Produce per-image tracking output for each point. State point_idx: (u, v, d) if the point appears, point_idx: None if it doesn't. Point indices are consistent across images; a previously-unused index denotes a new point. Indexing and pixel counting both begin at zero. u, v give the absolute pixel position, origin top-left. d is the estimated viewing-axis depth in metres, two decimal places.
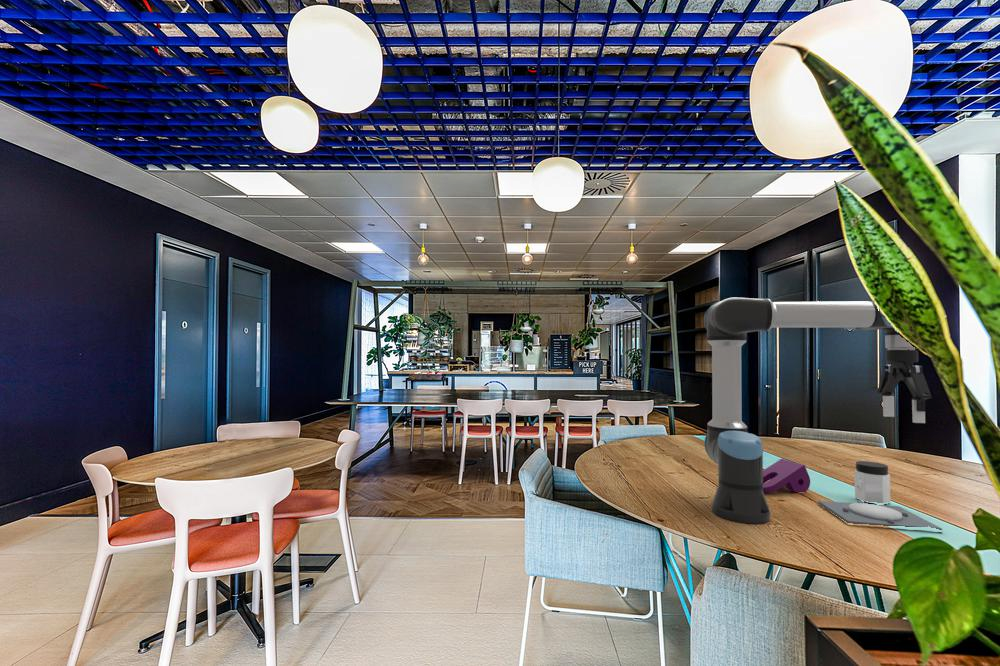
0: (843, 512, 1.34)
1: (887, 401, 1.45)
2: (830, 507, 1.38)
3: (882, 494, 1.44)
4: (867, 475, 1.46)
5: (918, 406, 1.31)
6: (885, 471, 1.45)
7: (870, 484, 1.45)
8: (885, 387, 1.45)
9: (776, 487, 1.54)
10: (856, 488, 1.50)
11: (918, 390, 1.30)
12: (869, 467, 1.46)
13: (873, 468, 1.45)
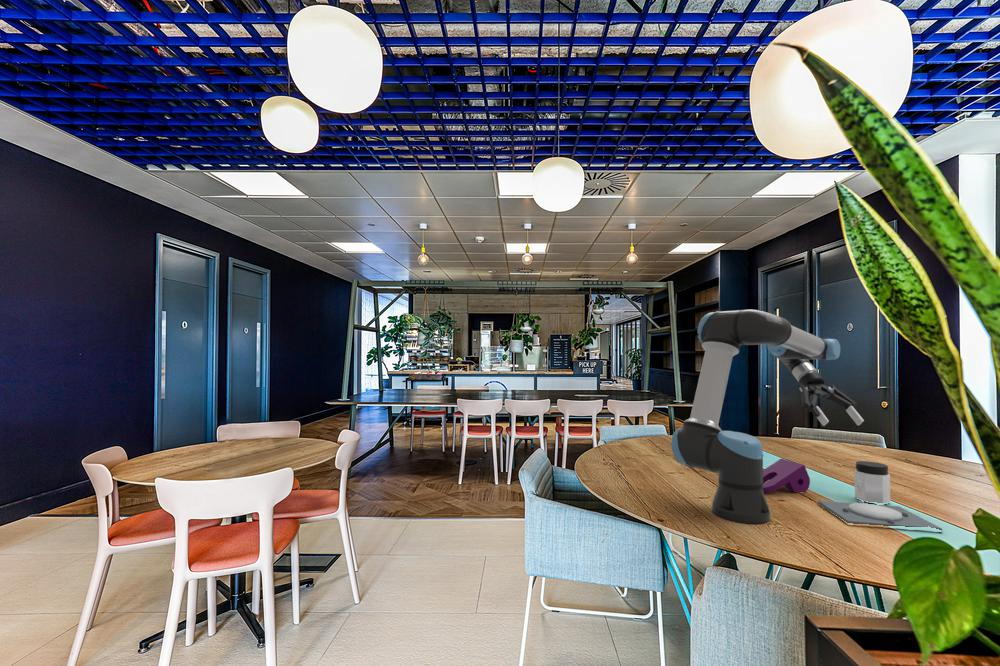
0: (843, 512, 1.34)
1: None
2: (830, 507, 1.38)
3: (882, 494, 1.44)
4: (867, 475, 1.46)
5: None
6: (885, 471, 1.45)
7: (870, 484, 1.45)
8: (814, 400, 1.64)
9: (776, 487, 1.54)
10: (856, 488, 1.50)
11: (851, 399, 1.66)
12: (869, 467, 1.46)
13: (873, 468, 1.45)
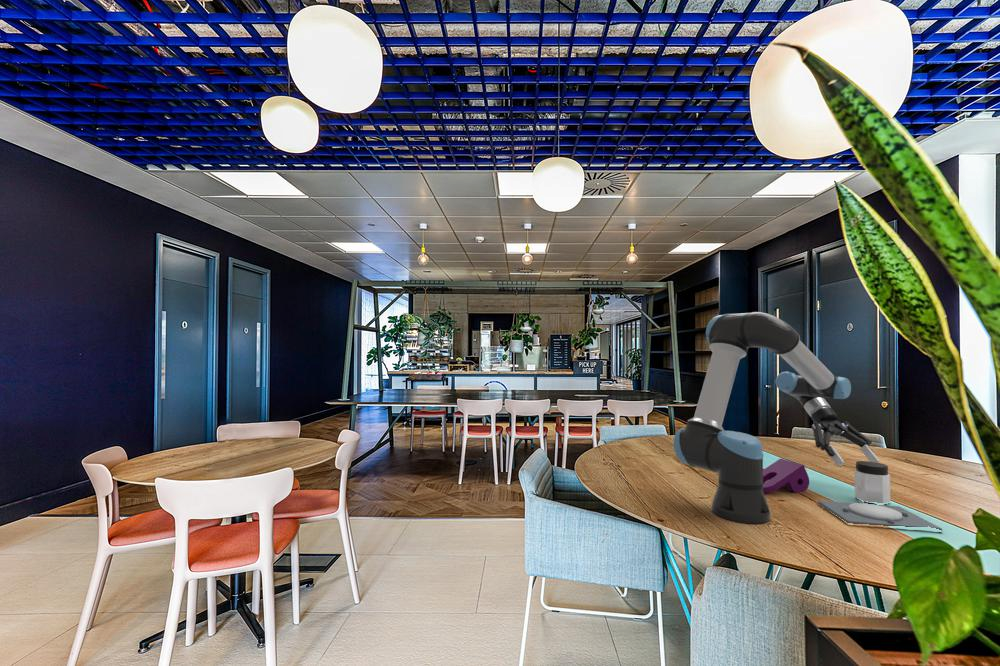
0: (843, 512, 1.34)
1: None
2: (830, 507, 1.38)
3: (882, 494, 1.44)
4: (867, 475, 1.46)
5: None
6: (885, 471, 1.45)
7: (870, 484, 1.45)
8: (828, 438, 1.59)
9: (776, 487, 1.54)
10: (856, 488, 1.50)
11: (865, 437, 1.61)
12: (869, 467, 1.46)
13: (873, 468, 1.45)
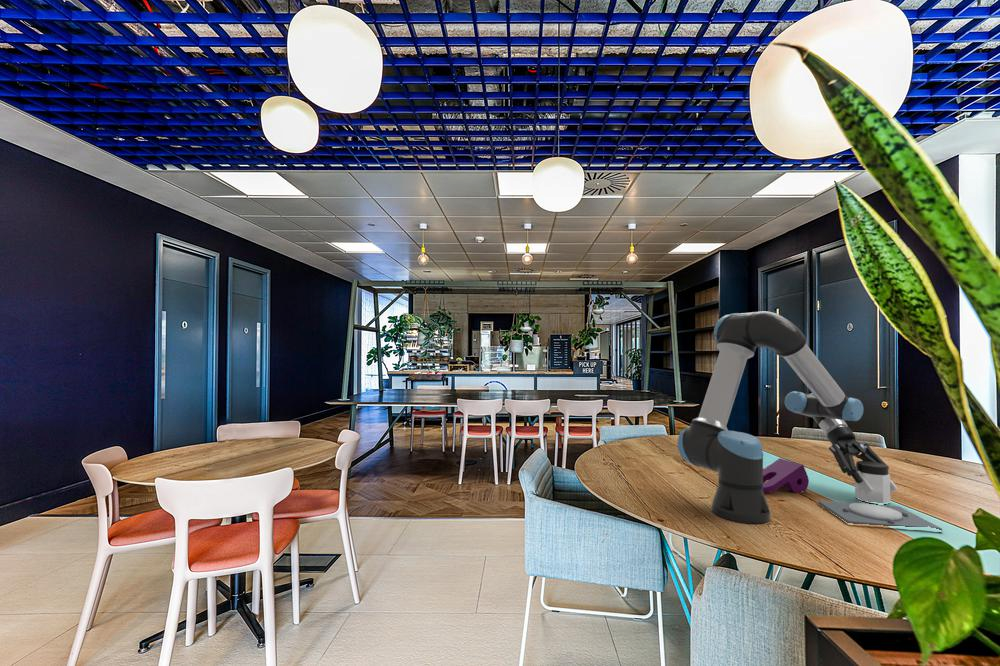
0: (843, 512, 1.34)
1: None
2: (830, 507, 1.38)
3: (882, 494, 1.44)
4: (867, 475, 1.46)
5: None
6: (885, 471, 1.45)
7: (870, 484, 1.45)
8: (852, 462, 1.50)
9: (776, 487, 1.54)
10: (856, 488, 1.50)
11: (883, 462, 1.52)
12: (869, 467, 1.46)
13: (873, 468, 1.45)
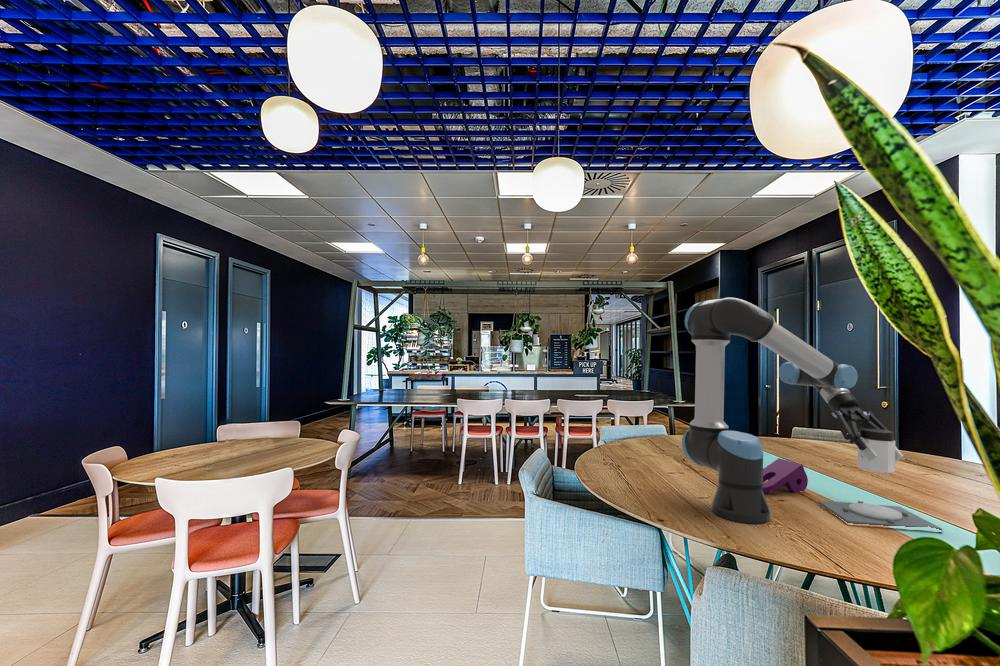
0: (843, 512, 1.34)
1: None
2: (830, 507, 1.38)
3: (887, 461, 1.35)
4: (871, 441, 1.37)
5: None
6: (891, 437, 1.36)
7: (874, 451, 1.37)
8: (855, 429, 1.42)
9: (776, 487, 1.54)
10: (859, 456, 1.41)
11: (887, 429, 1.43)
12: (874, 433, 1.37)
13: (878, 434, 1.36)
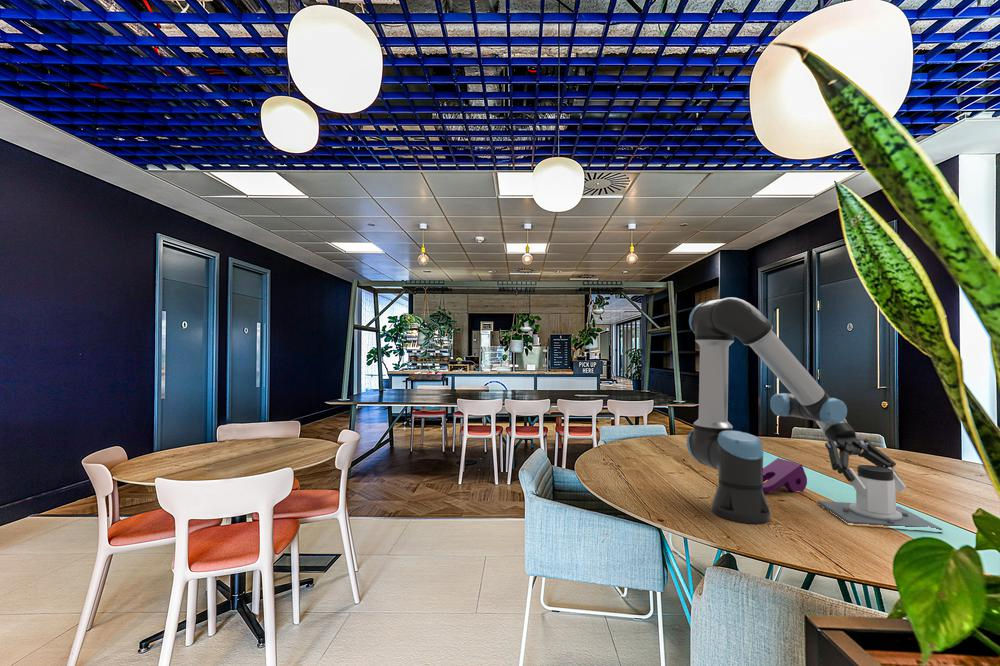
0: (843, 512, 1.34)
1: None
2: (830, 507, 1.38)
3: (887, 502, 1.29)
4: (870, 481, 1.31)
5: None
6: (890, 476, 1.30)
7: (873, 491, 1.31)
8: (846, 460, 1.36)
9: (775, 487, 1.54)
10: (858, 495, 1.35)
11: (888, 458, 1.38)
12: (872, 472, 1.31)
13: (877, 473, 1.30)
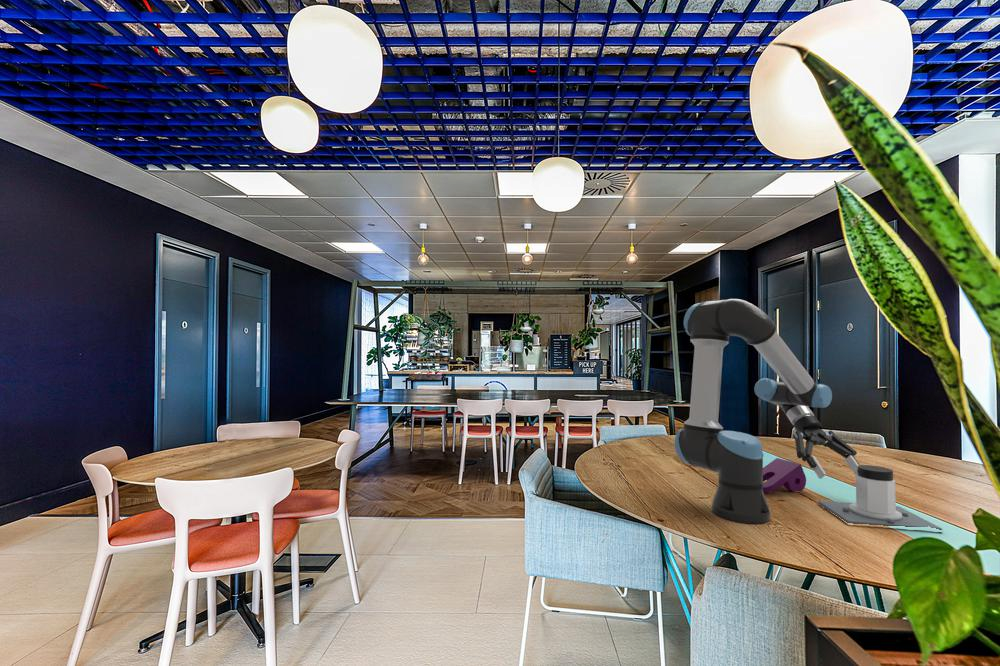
0: (843, 512, 1.34)
1: None
2: (830, 507, 1.38)
3: (887, 502, 1.29)
4: (870, 481, 1.31)
5: (855, 461, 1.48)
6: (890, 476, 1.30)
7: (873, 491, 1.31)
8: (810, 448, 1.49)
9: (775, 487, 1.54)
10: (858, 495, 1.35)
11: (850, 448, 1.51)
12: (872, 472, 1.31)
13: (877, 473, 1.30)
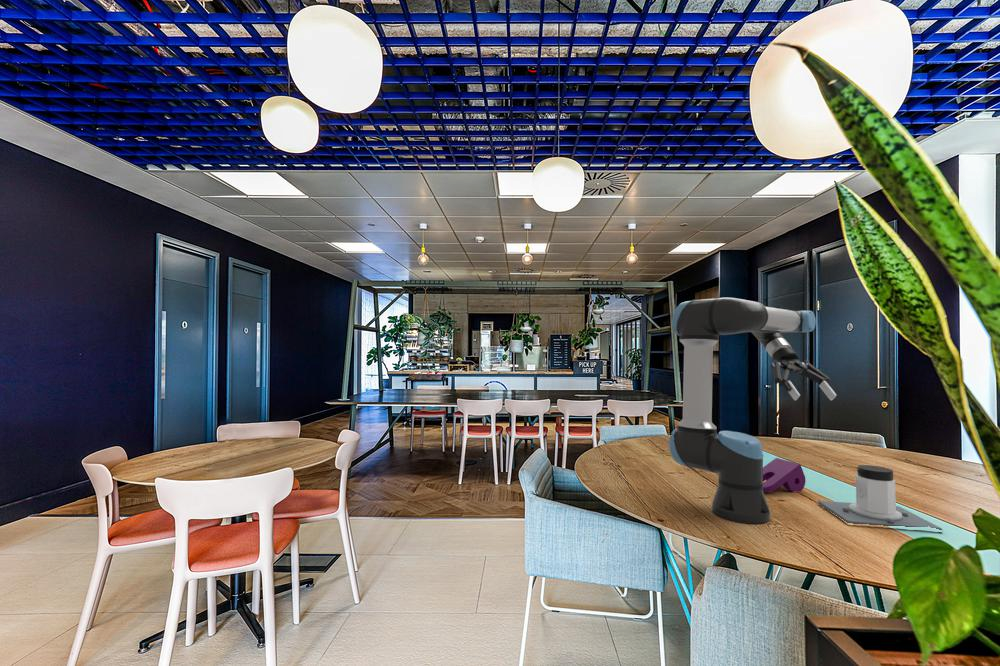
0: (843, 512, 1.34)
1: None
2: (830, 507, 1.38)
3: (887, 502, 1.29)
4: (870, 481, 1.31)
5: (829, 385, 1.58)
6: (890, 476, 1.30)
7: (873, 491, 1.31)
8: (786, 375, 1.59)
9: (775, 487, 1.54)
10: (858, 495, 1.35)
11: (824, 374, 1.62)
12: (872, 472, 1.31)
13: (877, 473, 1.30)
